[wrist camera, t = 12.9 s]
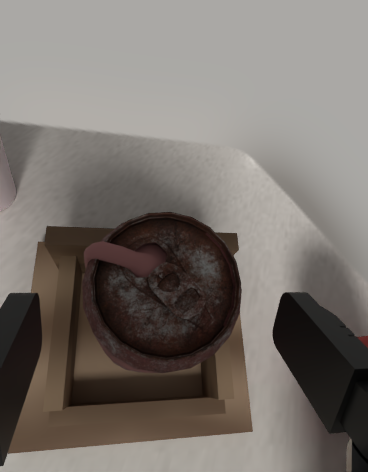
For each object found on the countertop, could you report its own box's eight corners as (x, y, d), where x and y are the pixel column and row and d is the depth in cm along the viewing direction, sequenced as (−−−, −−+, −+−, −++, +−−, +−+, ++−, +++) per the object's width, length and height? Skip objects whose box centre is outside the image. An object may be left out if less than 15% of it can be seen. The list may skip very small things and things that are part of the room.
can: (108, 279, 25) (99, 184, 12) (186, 296, 25) (256, 223, 13) (84, 362, 22) (43, 350, 10) (173, 378, 23) (243, 388, 10)
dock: (246, 428, 24) (295, 450, 17) (13, 449, 21) (-34, 485, 14) (228, 251, 29) (260, 217, 23) (41, 247, 26) (16, 205, 20)
